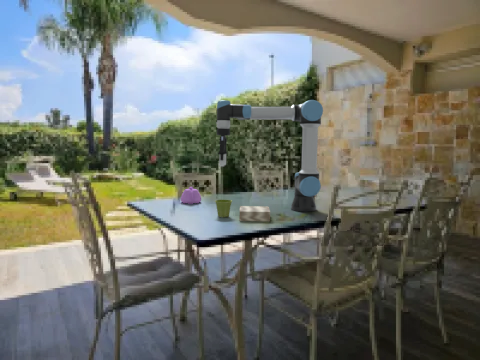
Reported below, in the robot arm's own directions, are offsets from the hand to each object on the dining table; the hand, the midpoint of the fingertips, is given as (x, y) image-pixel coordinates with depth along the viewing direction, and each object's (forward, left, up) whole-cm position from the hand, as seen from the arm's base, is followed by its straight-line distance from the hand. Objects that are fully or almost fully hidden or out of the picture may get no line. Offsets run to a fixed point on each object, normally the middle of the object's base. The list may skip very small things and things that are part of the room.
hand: (222, 165), depth 207 cm
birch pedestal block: (-18, +14, -27) cm, 36 cm away
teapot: (+24, -35, -28) cm, 51 cm away
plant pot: (-1, +11, -28) cm, 30 cm away
